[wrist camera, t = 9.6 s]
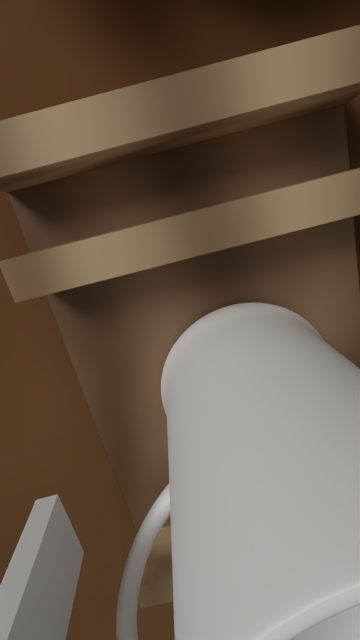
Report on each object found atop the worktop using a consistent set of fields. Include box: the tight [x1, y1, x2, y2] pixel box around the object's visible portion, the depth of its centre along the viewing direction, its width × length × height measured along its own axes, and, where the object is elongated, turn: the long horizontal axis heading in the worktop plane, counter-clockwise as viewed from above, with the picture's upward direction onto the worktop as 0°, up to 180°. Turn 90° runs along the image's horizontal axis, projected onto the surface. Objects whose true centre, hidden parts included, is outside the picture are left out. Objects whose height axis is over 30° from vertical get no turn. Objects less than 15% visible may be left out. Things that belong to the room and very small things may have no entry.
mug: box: [116, 302, 360, 640], centre depth 11 cm, size 12×8×12 cm
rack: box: [0, 25, 360, 609], centre depth 16 cm, size 14×22×4 cm, turn 14°
